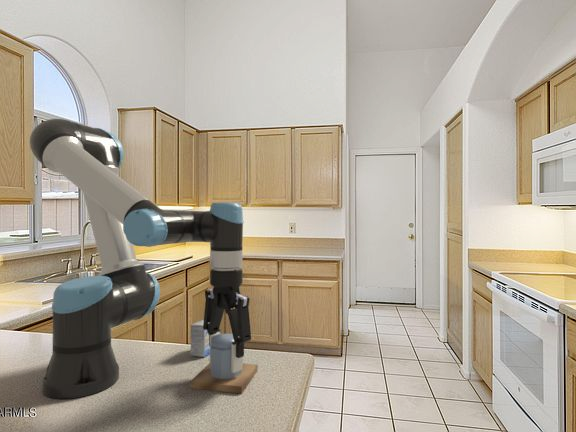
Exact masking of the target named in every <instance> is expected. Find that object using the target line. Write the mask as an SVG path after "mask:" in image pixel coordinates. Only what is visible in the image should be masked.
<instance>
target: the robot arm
mask: <svg viewBox="0 0 576 432" xmlns="http://www.w3.org/2000/svg"><path fill="white" fill-rule="evenodd" d="M29 137H30V138H29V146H30V147H29V148H30V151H31V152H32V154H33V155H34V158H35V159H37V161H38V162H39V163H40V164H42V165H43V166H44V167H45V168H46V169H48V170H49V171H50V172H54V173H60V175H62V176H63V177H64V178H65V179H67V180H68V181H69V182H71V184H73V185H74V186H75V187H77V188H78V189H79V190H80V191H81V192H82V193H83V194H82V195H83V198H84V202H85V206H86V210H87V214H88V217H89V218H88V219H89V221H90V226H91V230H92V233H93V237H94V238H93V239H94V242H95V245H96V250H97V253H98V258H99V262H100V266H101V270H100V271H99V273H98V275H90V276H86V277H83V276H82V277H77V278H73V279H70V280H67V281H64V282H63V283H60V284H59V285H58V286H57V287H56V288H55V289H54V291H53V298H52V299H53V300H52V303H51V310H52V352H51V356H50V359H49V363H48V365H47V368H46V372H45V375H44V377H43V379H42V393H43V395H44V396H46V397H48V398H52V399H60V400H61V399H64V400H65V399H67V400H68V399H75V398H81V397H87V396H90V395H93V394H97V393H99V392H102V391H104V390H106V389H108V388H110V387H112V386H113V385H114V384H116V383H117V381H118V380H119V378H120V366H119V363H118V362H117V359H116V356H115V353H114V350H113V347H112V329H113V328H117V327H118V326H121V325H124V324H126V323H129V322H132V321H137V320H140V319H142V318H143V317H145V316H147V315H149V314H151V313H152V312H153V311H154V310H155V309H156V307H157V305H158V304H159V300H160V297H161V288H160V283H159V281H158V280H157V278H156V277H155V276H153V274H151V273H149V272H147V271H146V267H145V264H144V263H143V262H141V261H139V260H138V259H137V256H136V252H135V248H134V246H135V247H148V248H151V247H157V246H165V245H170V244H171V245H172V244H174V245H175V244H181V243H209V246H210V247H209V248H210V251H209V252H210V253H209V267H211V269H210V270H209V272H210V273H209V281H210V282H209V283H210V286H212V287H213V288H211V289H210V288H209V289H205V290H204V297H205V298H204V299H205V303H204V314H203V319H204V323H203V329H204V330H207V331H208V334H209V346H210V344H211V338H212V337H213V336H216V335H219V334H222V333H221V331H222V330H221V328H220V326H221V322H222V319H223V315H224V312H225V314H226V315H227V316H228V321H229V325H230V329H231V334H233V339H234V342H232V348H231V372H232V373H235V372H237V371H240V370H242V369H243V361H244V359H243V358H244V356H245V343H247V342H249V341H251V340H252V332H251V322H250V320H251V319H250V309H249V305H250V296H248V295H246V296H244V295H242V294H241V291H240V286H241V285H242V284H243V271H244V270H243V269H242V266H243V234H244V232H243V231H244V228H243V227H244V226H243V225H244V223H245V221H244V216H243V207H242V205H241V203H238V202H226V201H225V202H222V201H221V202H212V203H211V204H210V207H209V210H207V211H206V210H205V211H204V210H202V211H201V210H198V211H197V210H174V209H172V210H171V209H170V210H166V209H165V210H164V209H162V208H160V207H159V206H158V205H156V204H155V203H153V202H152V201H151V200H150V199H148V198H147V197H146V196H145V195H144V194H142V193H141V192H139V191H138V190H137V189H136V188H134V187H133V186H132V185H131V184H129V183H128V182H127V181H125V180H124V179H123V178H122V177H120V176H119V173H120V167H122V166H121V165H123V160H122V159H124V155H125V153H124V148H123V147H124V146H123V145H122V143H121V141H120V140H119V138H118V137H117V135H114V134H113V133H111V132H109V131H106V130H104V129H102V128H99V127H91V126H87V125H85V124H81V123H78V122H74V121H71V120H69V119H68V120H67V119H62V118H50V119H45V120H44V121H42V122H40V123H38V124H37V125H36V126H35V127H34V128H33V129H32V131H31V133H30V136H29ZM208 323H209V324H208ZM217 332H219V333H217ZM238 336H239V338H238Z"/></svg>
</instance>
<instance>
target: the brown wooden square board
mask: <svg viewBox="0 0 576 432" xmlns="http://www.w3.org/2000/svg"><path fill="white" fill-rule="evenodd" d="M258 365H259V364H254V363H246V362H245V363H243V369H242V373H241V374H240V375H238V376H236V377H235V378H230V379H217V378H214V377H211V373H210V362H209V363H207V365H206V366H205V367H203V368H202V370H200V371H199V372H198V373H197V374H196V375H195V376H193V378H192V379H191V380H190V383H189V385H190V387H189V388H190V389H198V390H205V391H216V392H225V393H232V394H233V393H235V394H243V393H244V391H245V390H246V388H247V387H248V385H249V384H250V382H251V381H252V380H253V378H254V377H255V375H256V373H258V370H259V368H258V367H259V366H258Z"/></svg>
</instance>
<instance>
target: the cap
mask: <svg viewBox="0 0 576 432" xmlns="http://www.w3.org/2000/svg"><path fill="white" fill-rule="evenodd" d="M238 338H239V336H238ZM232 342H234V339H233V334H232V333H221V334H219V335H216V336H213V337H212V338H211V344H210V354H209V363H210V373H211V377H214V378H217V379H230V378H235V377H236V376H238V375H240V374H241V373H242V370H240V371H237V372H235V373H232V372H231V348H232Z"/></svg>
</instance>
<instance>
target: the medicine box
mask: <svg viewBox="0 0 576 432" xmlns="http://www.w3.org/2000/svg"><path fill="white" fill-rule="evenodd" d="M203 323H204V318H203V319H201V320H198V321H197V322H195V323H193V324H191V325H190V356H193V357H197V358H198V357H199V358H206V357H208V356H210V346H209V334H208V331H207V330H204V329H203ZM208 324H209V323H208ZM217 333H220V331H219V332H217Z"/></svg>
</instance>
